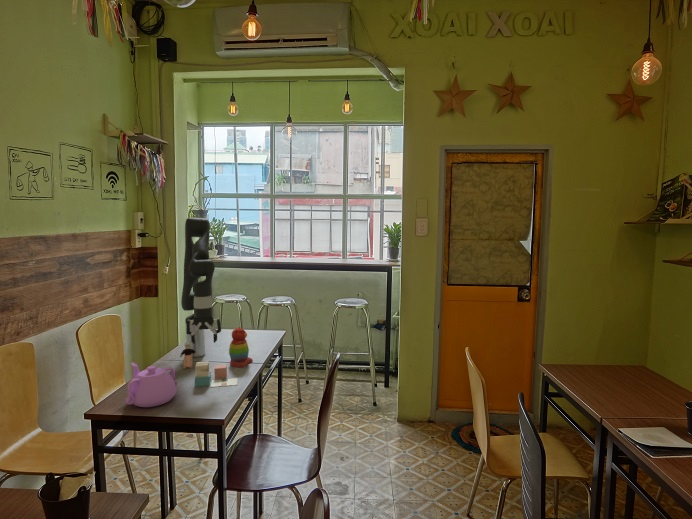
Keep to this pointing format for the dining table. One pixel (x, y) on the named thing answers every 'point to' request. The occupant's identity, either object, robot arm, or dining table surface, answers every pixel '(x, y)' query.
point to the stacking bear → (239, 349)
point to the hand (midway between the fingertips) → (204, 342)
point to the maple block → (202, 369)
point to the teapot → (151, 386)
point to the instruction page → (224, 382)
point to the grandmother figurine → (188, 355)
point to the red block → (220, 371)
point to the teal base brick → (203, 380)
